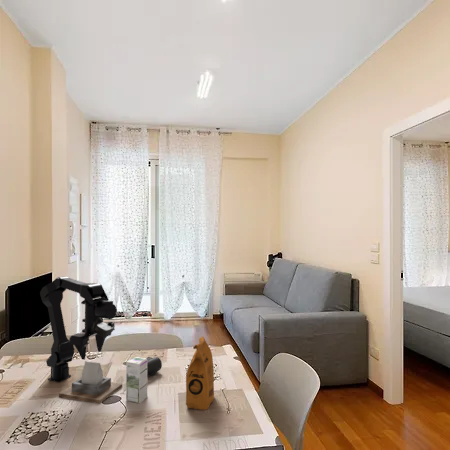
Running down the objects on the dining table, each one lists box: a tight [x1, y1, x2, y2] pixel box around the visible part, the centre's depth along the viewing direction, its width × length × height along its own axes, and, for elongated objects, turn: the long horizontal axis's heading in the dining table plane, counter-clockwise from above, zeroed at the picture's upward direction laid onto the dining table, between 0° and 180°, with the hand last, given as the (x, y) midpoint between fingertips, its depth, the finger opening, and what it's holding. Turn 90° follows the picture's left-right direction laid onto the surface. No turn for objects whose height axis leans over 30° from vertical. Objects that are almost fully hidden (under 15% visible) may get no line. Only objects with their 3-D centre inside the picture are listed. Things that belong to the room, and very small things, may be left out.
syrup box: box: [125, 356, 148, 404], centre depth 127 cm, size 6×6×14 cm
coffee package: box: [185, 336, 215, 411], centre depth 125 cm, size 10×12×22 cm
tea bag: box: [81, 361, 104, 385], centre depth 133 cm, size 4×7×10 cm, turn 73°
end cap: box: [146, 356, 163, 378], centre depth 148 cm, size 10×7×7 cm
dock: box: [58, 376, 123, 404], centre depth 133 cm, size 18×14×4 cm
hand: (91, 355), depth 136 cm, fingers open, 9 cm apart
